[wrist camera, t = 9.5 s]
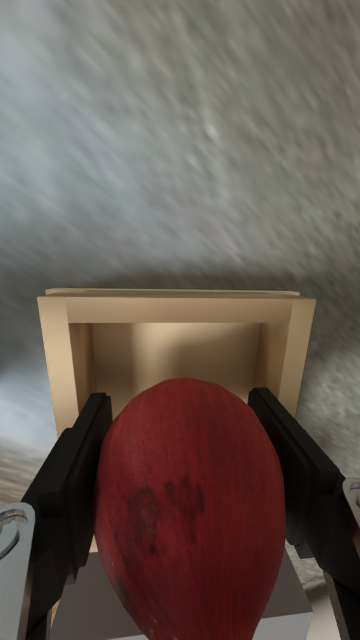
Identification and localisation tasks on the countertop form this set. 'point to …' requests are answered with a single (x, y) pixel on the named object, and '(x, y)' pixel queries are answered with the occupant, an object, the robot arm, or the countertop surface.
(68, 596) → the gray holed slab
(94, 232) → the countertop surface
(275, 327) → the wooden tray
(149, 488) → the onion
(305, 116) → the countertop surface
